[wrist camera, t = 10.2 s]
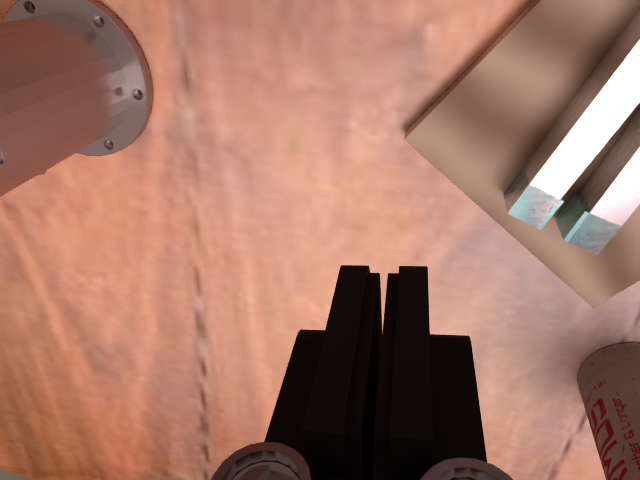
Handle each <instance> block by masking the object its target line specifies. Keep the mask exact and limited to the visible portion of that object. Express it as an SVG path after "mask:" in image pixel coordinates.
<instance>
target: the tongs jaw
mask: <svg viewBox="0 0 640 480" xmlns="http://www.w3.org/2000/svg"><path fill="white" fill-rule="evenodd" d="M639 204H640V110H639V111H638V113H637V114H636V116H635V117H634V118H633V120H632V121H631V122H630V124H629V125H628V127H627V128H626V129H625V131H624V132H623V134H622V135H621V136H620V138H619V139H618V140H617V142H616V143H615V145H614V146H613V147H612V149H611V150H610V151H609V153H608V154H607V156H606V157H605V158H604V160H603V161H602V162H601V164H600V165H599V167H598V168H597V169H596V171H595V172H594V173H593V175H592V176H591V178H590V179H589V180H588V182H587V183H586V184H585V186H584V187H583V189H582V190H581V191H580V193H578V192H574V194H573V195H572V197H571V198H570V199H569V201H568V202H567V204H566V205H565V206H564V208H563V209H562V210H561V212H560V213H559V215H558V216H557V217H556V219H555V220H556V223H557V226H558V228H559V231H560V233H561V236H562V238H563V241H566V242H568V243H571V244H573V245H575V246H578V247H580V248H583V249H585V250H588V251H590V252H592V253H595V254H597V255H599V253H600V252H601V251H602V250H603V248H604V247H605V246H606V245H607V243H608V242H609V241H610V240H611V239H612V237H613V236H614V235H615V234H616V232H617V231H618V230H619V229H620V228H621V226H622V225H623V224H624V223H625V221H626V220H627V219H628V218H629V217H630V215H631V214H632V213H633V212H634V210H635V209H636V208H637V207H638V205H639Z"/></svg>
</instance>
